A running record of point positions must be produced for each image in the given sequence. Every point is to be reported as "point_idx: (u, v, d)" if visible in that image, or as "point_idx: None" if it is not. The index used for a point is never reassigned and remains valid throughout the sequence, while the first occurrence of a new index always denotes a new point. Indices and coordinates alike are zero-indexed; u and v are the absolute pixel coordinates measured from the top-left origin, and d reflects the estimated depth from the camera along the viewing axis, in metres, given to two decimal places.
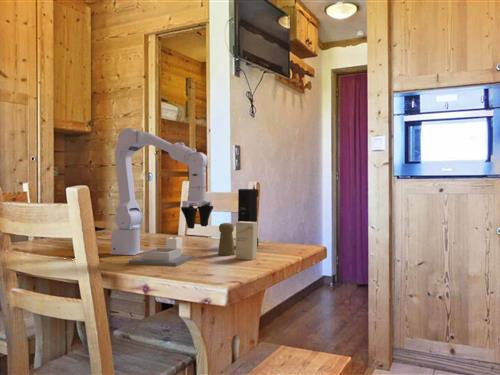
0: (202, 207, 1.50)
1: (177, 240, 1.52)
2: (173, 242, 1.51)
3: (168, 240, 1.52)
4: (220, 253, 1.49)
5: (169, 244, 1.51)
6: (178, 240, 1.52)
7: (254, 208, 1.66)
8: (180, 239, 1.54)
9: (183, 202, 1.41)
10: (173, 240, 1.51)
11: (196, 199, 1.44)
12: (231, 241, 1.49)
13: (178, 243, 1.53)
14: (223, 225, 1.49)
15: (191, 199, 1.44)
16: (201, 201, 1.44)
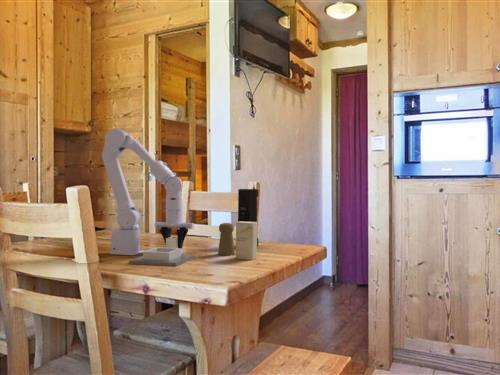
0: None
1: (177, 239, 1.52)
2: (173, 242, 1.51)
3: (168, 240, 1.52)
4: (220, 253, 1.49)
5: (169, 244, 1.51)
6: None
7: (254, 208, 1.66)
8: None
9: None
10: (173, 240, 1.51)
11: None
12: (231, 241, 1.49)
13: None
14: (223, 225, 1.49)
15: None
16: (167, 224, 1.51)
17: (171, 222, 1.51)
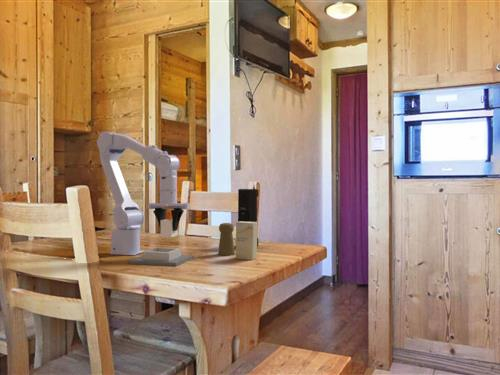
0: None
1: (172, 221, 1.44)
2: (168, 224, 1.43)
3: (163, 222, 1.44)
4: (220, 253, 1.49)
5: (164, 226, 1.44)
6: None
7: (254, 208, 1.66)
8: None
9: None
10: (168, 222, 1.43)
11: None
12: (231, 241, 1.49)
13: None
14: (223, 225, 1.49)
15: None
16: None
17: (165, 202, 1.43)
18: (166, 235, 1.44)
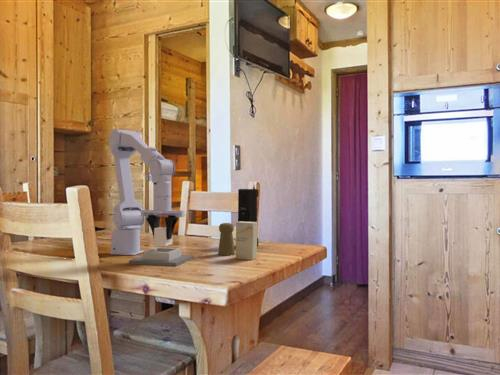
0: None
1: None
2: (162, 232, 1.36)
3: (156, 230, 1.37)
4: (220, 253, 1.49)
5: (157, 234, 1.37)
6: None
7: (254, 208, 1.66)
8: None
9: None
10: (162, 230, 1.36)
11: (153, 209, 1.38)
12: (231, 241, 1.49)
13: None
14: (223, 225, 1.49)
15: None
16: None
17: (159, 209, 1.35)
18: (160, 244, 1.36)
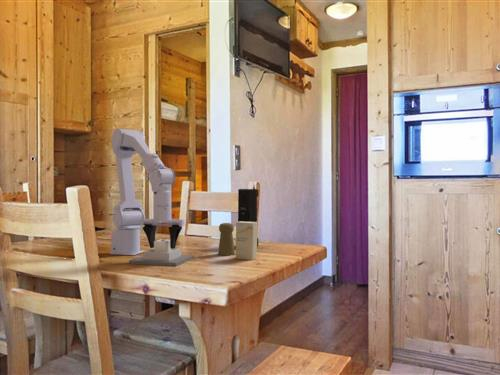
0: None
1: (167, 242, 1.37)
2: (162, 245, 1.36)
3: (156, 243, 1.37)
4: (220, 253, 1.49)
5: (157, 247, 1.37)
6: (167, 242, 1.37)
7: (254, 208, 1.66)
8: None
9: None
10: (162, 243, 1.36)
11: (153, 218, 1.38)
12: (231, 241, 1.49)
13: (168, 246, 1.38)
14: (223, 225, 1.49)
15: None
16: None
17: (159, 219, 1.36)
18: None
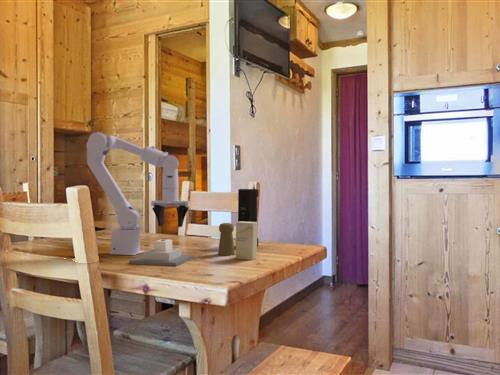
0: None
1: (167, 242, 1.37)
2: (162, 245, 1.36)
3: (156, 243, 1.37)
4: (220, 253, 1.49)
5: (157, 247, 1.37)
6: (167, 242, 1.37)
7: (254, 208, 1.66)
8: (170, 242, 1.39)
9: None
10: (162, 243, 1.36)
11: (162, 199, 1.54)
12: (231, 241, 1.49)
13: (168, 246, 1.38)
14: (223, 225, 1.49)
15: None
16: None
17: (167, 200, 1.52)
18: None
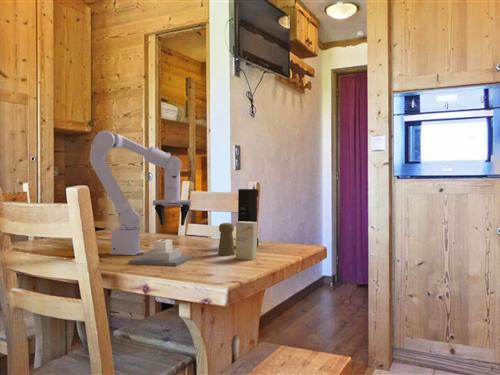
0: None
1: (167, 242, 1.37)
2: (162, 245, 1.36)
3: (156, 243, 1.37)
4: (220, 253, 1.49)
5: (157, 247, 1.37)
6: (167, 242, 1.37)
7: (254, 208, 1.66)
8: (170, 242, 1.39)
9: None
10: (162, 243, 1.36)
11: None
12: (231, 241, 1.49)
13: (168, 246, 1.38)
14: (223, 225, 1.49)
15: None
16: (166, 201, 1.57)
17: (171, 199, 1.56)
18: None
